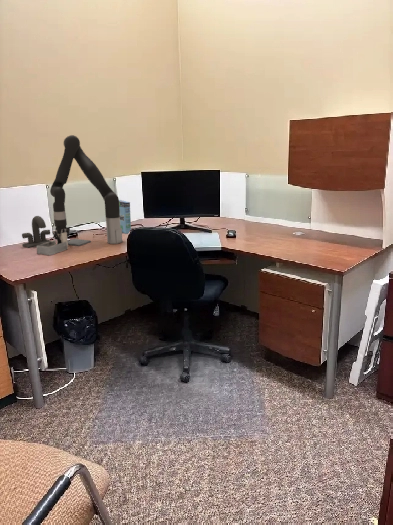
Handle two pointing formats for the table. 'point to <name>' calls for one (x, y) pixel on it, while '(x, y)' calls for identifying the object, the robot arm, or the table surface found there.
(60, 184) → the robot arm
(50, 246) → the grey box
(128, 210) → the gum box
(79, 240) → the mat
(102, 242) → the table surface
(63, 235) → the block
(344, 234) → the table surface
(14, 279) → the table surface
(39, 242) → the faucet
